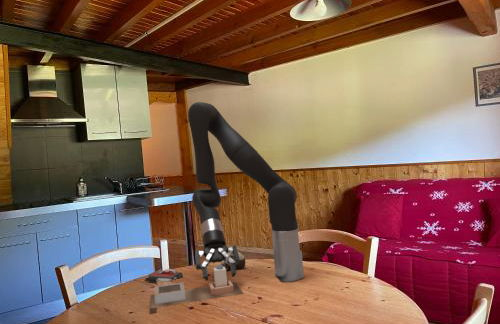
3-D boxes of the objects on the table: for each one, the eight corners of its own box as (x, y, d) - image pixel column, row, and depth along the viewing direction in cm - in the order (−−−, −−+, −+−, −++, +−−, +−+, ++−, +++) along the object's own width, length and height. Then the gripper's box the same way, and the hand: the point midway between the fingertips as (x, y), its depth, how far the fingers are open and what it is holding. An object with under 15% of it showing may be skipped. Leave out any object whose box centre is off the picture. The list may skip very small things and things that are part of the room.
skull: (211, 272, 144) (216, 248, 150) (221, 284, 151) (226, 260, 157) (240, 272, 140) (244, 247, 146) (249, 284, 147) (253, 260, 153)
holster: (230, 285, 125) (229, 279, 125) (234, 292, 118) (233, 285, 118) (209, 288, 124) (208, 282, 124) (211, 295, 117) (211, 289, 117)
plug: (225, 288, 123) (223, 263, 123) (227, 291, 120) (225, 266, 120) (215, 289, 122) (213, 264, 122) (216, 293, 119) (214, 267, 119)
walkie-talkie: (141, 285, 139) (187, 288, 131) (140, 273, 139) (186, 276, 131) (156, 277, 147) (200, 280, 139) (155, 266, 147) (199, 268, 139)
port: (183, 291, 123) (183, 281, 123) (185, 300, 114) (184, 290, 114) (155, 295, 121) (154, 285, 121) (155, 305, 112) (154, 294, 112)
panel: (236, 286, 128) (236, 282, 128) (243, 298, 117) (243, 293, 117) (151, 299, 122) (150, 294, 122) (150, 313, 110) (149, 308, 110)
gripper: (192, 231, 127) (198, 274, 116) (234, 226, 130) (243, 268, 119) (192, 243, 132) (197, 286, 121) (232, 239, 136) (241, 280, 124)
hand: (220, 277), depth 120 cm, fingers open, 8 cm apart
